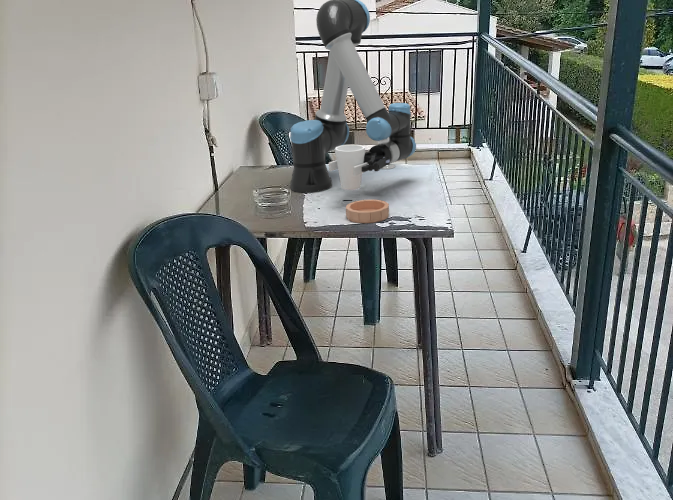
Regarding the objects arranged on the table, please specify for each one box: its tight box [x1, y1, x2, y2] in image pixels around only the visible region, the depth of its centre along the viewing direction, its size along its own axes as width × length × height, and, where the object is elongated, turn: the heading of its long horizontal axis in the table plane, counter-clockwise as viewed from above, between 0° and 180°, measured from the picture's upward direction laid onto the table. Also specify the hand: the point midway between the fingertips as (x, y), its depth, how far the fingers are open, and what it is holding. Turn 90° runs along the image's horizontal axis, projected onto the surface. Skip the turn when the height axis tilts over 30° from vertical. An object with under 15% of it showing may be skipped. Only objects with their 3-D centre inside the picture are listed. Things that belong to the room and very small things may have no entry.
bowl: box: [345, 199, 390, 224], centre depth 197 cm, size 13×13×3 cm
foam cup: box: [334, 144, 366, 191], centre depth 205 cm, size 10×9×13 cm
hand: (341, 169), depth 201 cm, fingers closed on foam cup, 9 cm apart
